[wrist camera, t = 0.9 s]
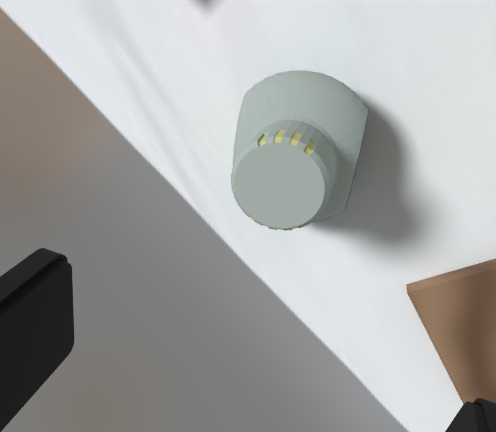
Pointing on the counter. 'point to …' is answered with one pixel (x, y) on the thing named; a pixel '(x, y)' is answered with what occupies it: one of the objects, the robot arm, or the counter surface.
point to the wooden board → (462, 325)
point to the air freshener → (296, 149)
